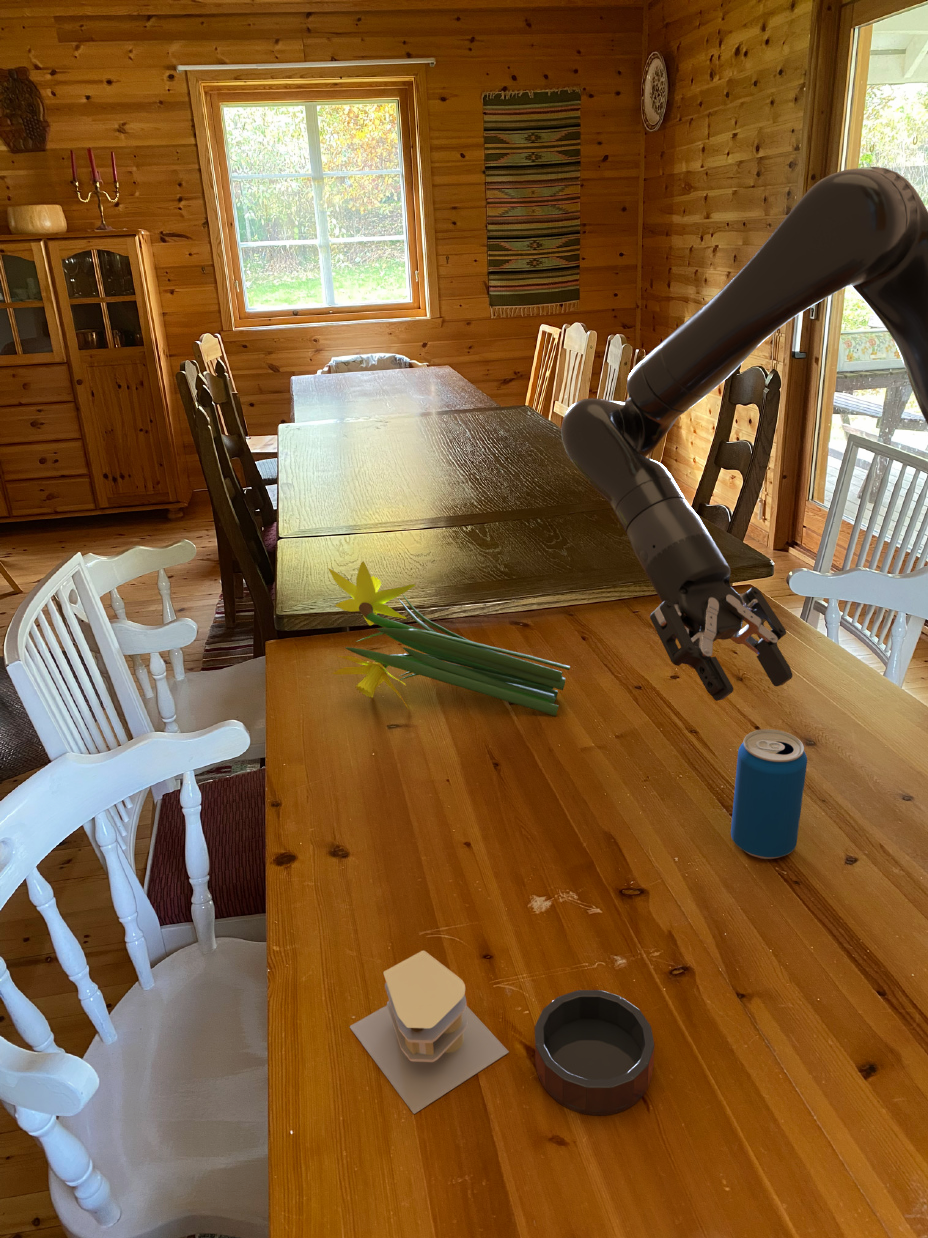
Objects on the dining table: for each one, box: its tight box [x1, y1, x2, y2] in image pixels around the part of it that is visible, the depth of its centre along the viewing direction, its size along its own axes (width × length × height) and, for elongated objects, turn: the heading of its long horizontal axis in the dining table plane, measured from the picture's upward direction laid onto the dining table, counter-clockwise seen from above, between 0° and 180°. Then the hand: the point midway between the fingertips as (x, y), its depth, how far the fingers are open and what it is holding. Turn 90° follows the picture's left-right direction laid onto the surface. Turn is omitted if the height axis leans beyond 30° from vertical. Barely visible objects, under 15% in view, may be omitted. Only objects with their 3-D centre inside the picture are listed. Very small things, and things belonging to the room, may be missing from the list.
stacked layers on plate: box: [349, 950, 510, 1115], centre depth 73 cm, size 10×9×6 cm
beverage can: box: [730, 728, 808, 860], centre depth 92 cm, size 6×6×12 cm
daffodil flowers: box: [327, 561, 571, 717], centre depth 122 cm, size 17×15×35 cm
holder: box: [534, 989, 656, 1117], centre depth 71 cm, size 9×9×3 cm
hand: (755, 689), depth 88 cm, fingers open, 8 cm apart
